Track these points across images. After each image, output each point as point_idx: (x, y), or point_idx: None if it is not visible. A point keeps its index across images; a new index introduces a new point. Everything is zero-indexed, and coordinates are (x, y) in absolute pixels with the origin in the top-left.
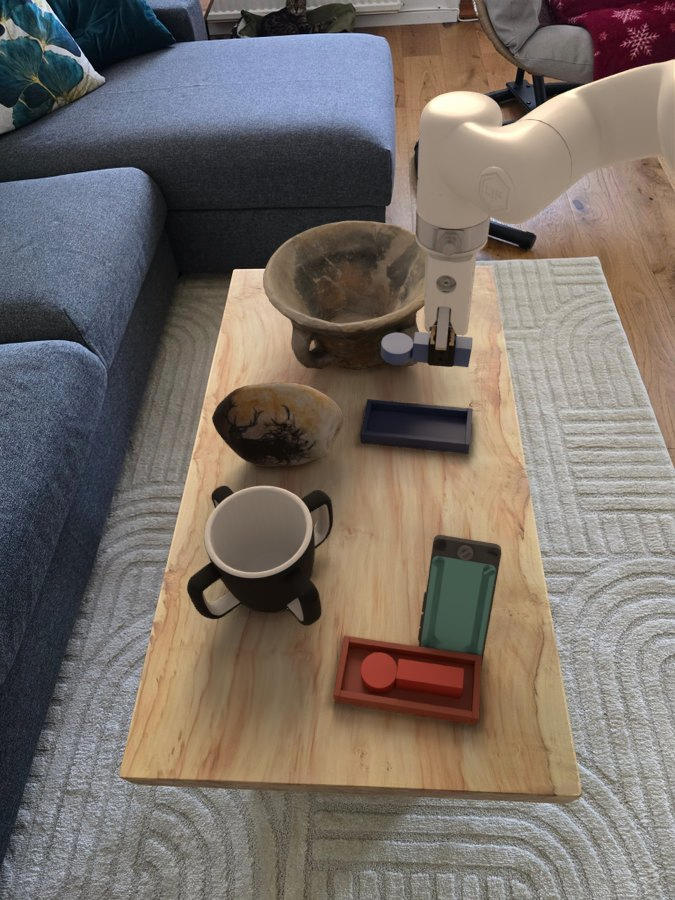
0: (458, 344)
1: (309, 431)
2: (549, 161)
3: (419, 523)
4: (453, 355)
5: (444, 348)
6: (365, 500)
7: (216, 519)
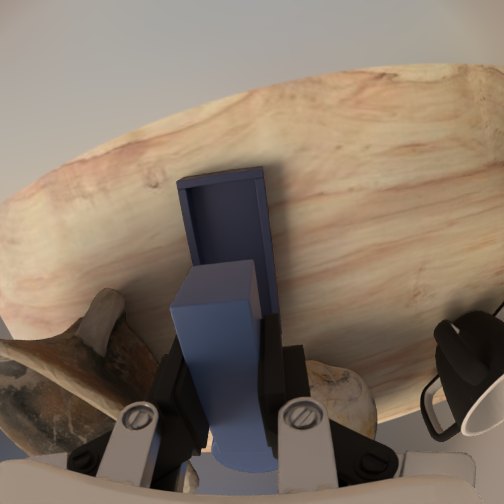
0: (234, 352)
1: (374, 421)
2: None
3: (401, 215)
4: (280, 345)
5: (472, 466)
6: (374, 290)
7: (481, 427)
